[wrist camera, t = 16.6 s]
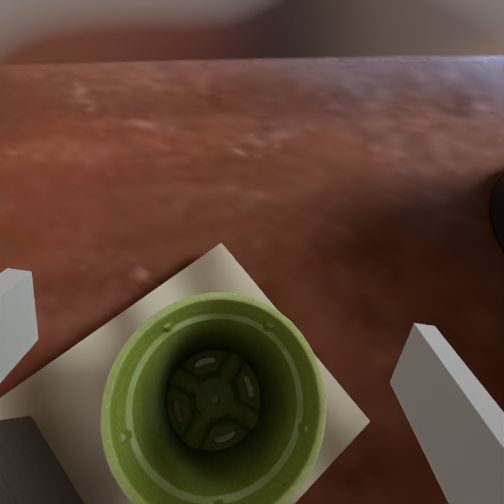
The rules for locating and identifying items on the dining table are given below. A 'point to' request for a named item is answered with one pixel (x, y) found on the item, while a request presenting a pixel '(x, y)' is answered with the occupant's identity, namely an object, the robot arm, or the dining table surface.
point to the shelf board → (96, 372)
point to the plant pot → (213, 405)
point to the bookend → (31, 467)
